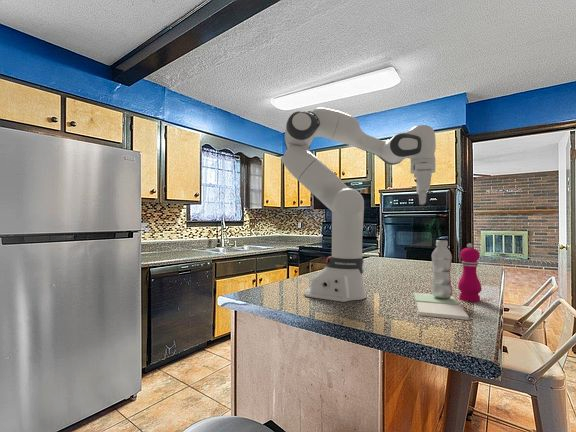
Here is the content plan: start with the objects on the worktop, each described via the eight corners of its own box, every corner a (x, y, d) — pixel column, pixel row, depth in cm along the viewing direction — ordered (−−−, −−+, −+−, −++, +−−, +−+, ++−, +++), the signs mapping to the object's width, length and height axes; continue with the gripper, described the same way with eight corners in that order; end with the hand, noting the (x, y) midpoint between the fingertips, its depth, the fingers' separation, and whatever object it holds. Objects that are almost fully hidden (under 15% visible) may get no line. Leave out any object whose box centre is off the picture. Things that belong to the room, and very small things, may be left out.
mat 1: (415, 303, 106) (415, 300, 106) (413, 295, 117) (413, 292, 117) (459, 307, 102) (458, 303, 102) (452, 298, 113) (452, 295, 113)
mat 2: (419, 315, 92) (419, 311, 92) (416, 304, 104) (416, 301, 104) (468, 320, 88) (468, 316, 88) (460, 308, 100) (460, 305, 100)
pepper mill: (485, 303, 107) (485, 244, 107) (462, 301, 108) (462, 243, 109) (476, 297, 114) (477, 242, 114) (455, 296, 116) (455, 242, 116)
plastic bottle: (442, 301, 105) (443, 241, 105) (426, 296, 111) (427, 240, 111) (456, 299, 107) (457, 241, 107) (440, 295, 113) (440, 239, 114)
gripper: (413, 172, 132) (412, 205, 132) (415, 164, 113) (414, 202, 113) (429, 171, 130) (429, 205, 130) (434, 163, 110) (433, 202, 110)
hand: (422, 204), depth 121 cm, fingers open, 8 cm apart
